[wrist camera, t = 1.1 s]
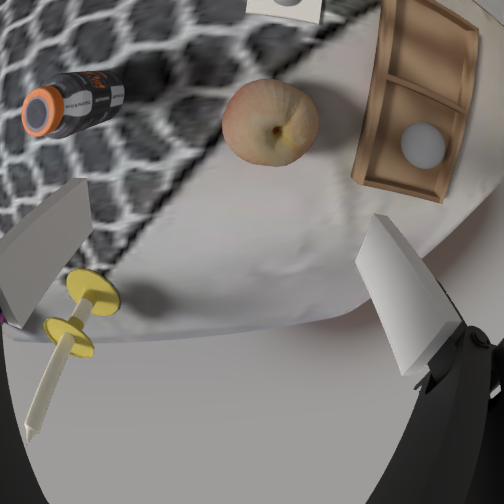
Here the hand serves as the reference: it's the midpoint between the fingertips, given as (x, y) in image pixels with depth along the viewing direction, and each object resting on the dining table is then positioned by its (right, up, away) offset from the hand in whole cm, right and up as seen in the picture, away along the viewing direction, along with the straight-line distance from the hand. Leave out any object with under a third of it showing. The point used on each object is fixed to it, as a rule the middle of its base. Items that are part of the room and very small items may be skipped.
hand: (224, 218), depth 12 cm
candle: (-24, -8, +27) cm, 37 cm away
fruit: (+3, +12, +14) cm, 19 cm away
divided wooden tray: (+19, +16, +11) cm, 27 cm away
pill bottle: (-15, +15, +12) cm, 24 cm away
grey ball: (+19, +11, +14) cm, 26 cm away
